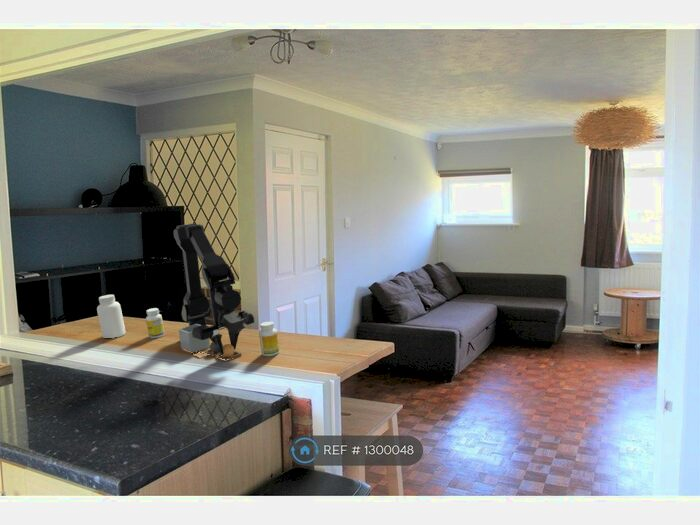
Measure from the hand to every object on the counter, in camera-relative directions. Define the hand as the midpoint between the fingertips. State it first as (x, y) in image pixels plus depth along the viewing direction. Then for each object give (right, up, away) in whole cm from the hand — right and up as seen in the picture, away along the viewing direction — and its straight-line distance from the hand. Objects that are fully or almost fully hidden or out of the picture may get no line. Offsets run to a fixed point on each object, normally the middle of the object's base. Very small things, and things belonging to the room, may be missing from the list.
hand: (228, 352), depth 171 cm
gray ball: (-4, -1, +5) cm, 7 cm away
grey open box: (-13, -1, +11) cm, 17 cm away
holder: (-2, -1, +3) cm, 4 cm away
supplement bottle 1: (-32, +1, +29) cm, 43 cm away
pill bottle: (-49, 0, +34) cm, 60 cm away
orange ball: (0, -1, 0) cm, 2 cm away
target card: (-10, -2, +4) cm, 11 cm away
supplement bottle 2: (+13, -1, 0) cm, 13 cm away
